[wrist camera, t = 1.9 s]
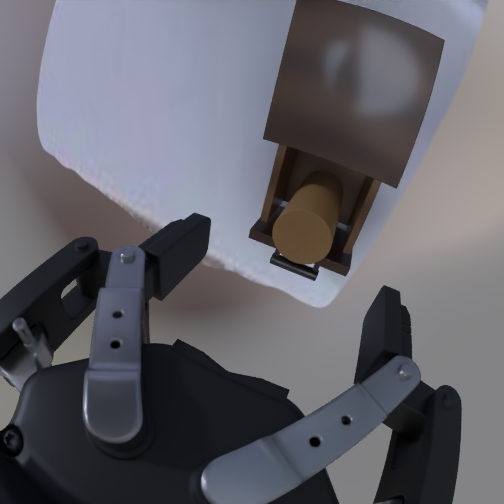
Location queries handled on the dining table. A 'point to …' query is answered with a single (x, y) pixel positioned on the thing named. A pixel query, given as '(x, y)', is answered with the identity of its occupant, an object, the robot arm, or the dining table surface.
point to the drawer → (351, 213)
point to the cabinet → (353, 87)
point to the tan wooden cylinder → (309, 219)
